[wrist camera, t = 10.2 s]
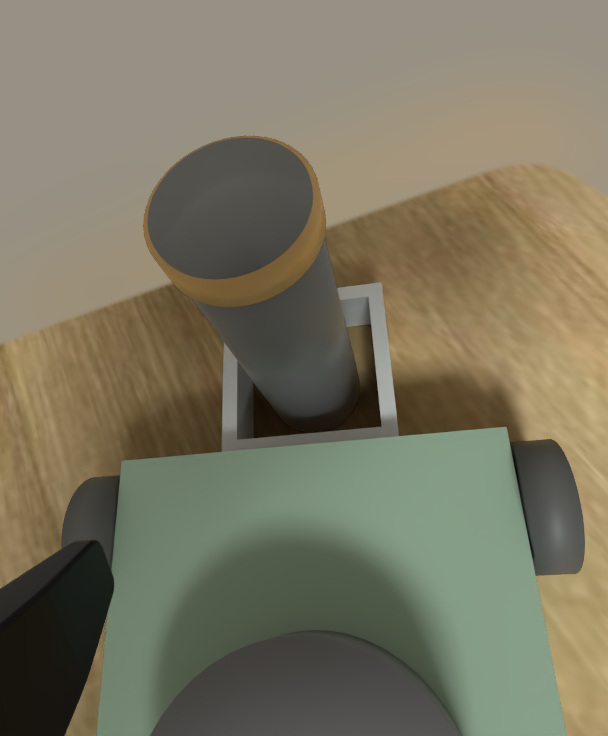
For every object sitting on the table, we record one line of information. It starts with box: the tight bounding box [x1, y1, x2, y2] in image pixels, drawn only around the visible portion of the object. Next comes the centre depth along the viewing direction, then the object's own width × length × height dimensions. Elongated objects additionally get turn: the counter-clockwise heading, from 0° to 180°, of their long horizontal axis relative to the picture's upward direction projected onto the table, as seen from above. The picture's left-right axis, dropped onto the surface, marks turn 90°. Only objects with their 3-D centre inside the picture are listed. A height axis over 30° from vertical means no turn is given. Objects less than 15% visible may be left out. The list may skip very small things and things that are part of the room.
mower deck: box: [62, 282, 585, 736], centre depth 18 cm, size 25×17×6 cm
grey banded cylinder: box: [143, 136, 360, 432], centre depth 18 cm, size 4×4×12 cm
